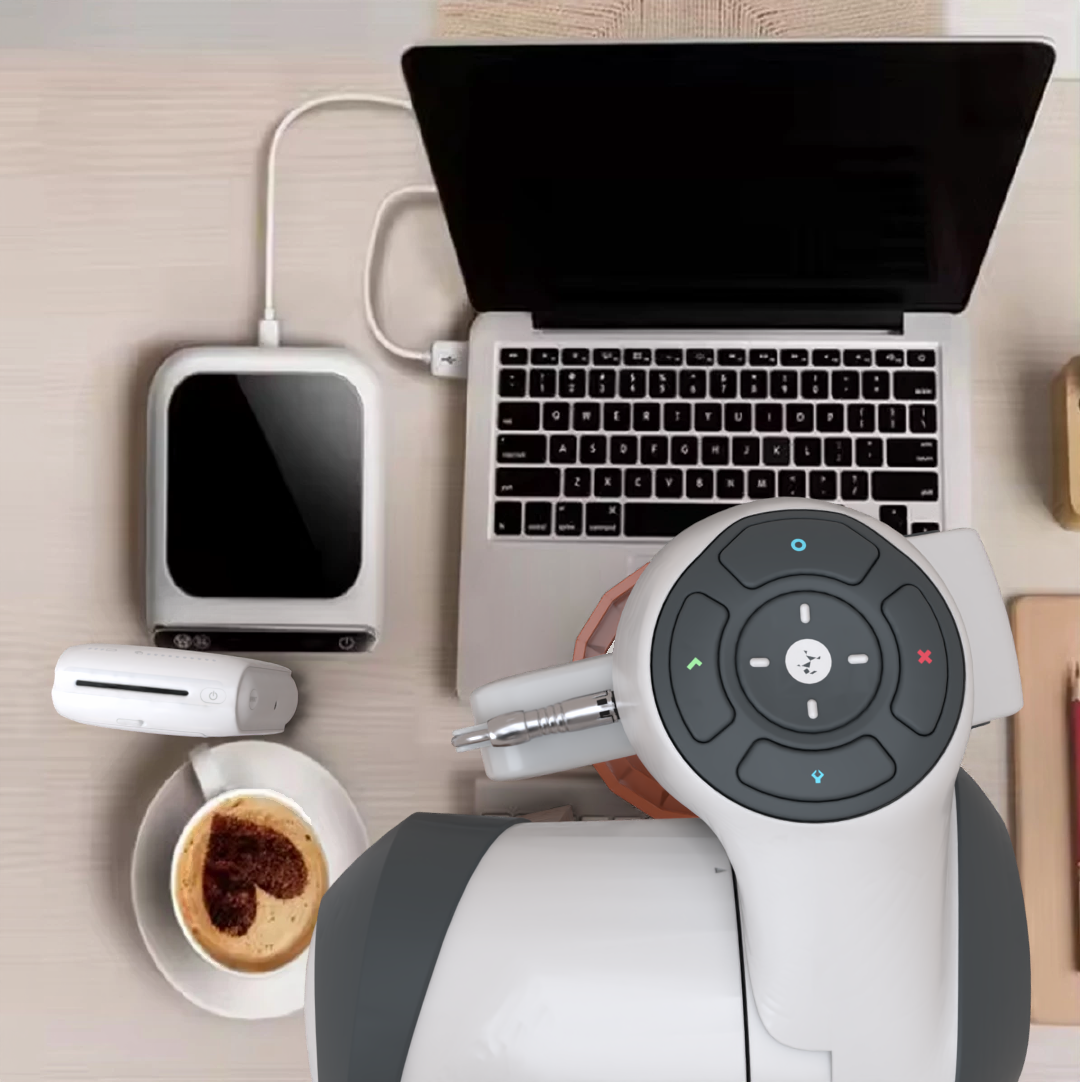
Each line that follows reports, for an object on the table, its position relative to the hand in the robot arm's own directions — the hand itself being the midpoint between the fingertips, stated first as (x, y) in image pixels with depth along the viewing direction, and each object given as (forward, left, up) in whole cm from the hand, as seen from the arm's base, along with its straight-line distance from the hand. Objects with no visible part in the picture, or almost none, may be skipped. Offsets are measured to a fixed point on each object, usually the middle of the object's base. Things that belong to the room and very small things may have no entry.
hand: (721, 680), depth 60 cm
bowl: (0, 0, -18) cm, 18 cm away
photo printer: (+6, +27, -18) cm, 33 cm away
